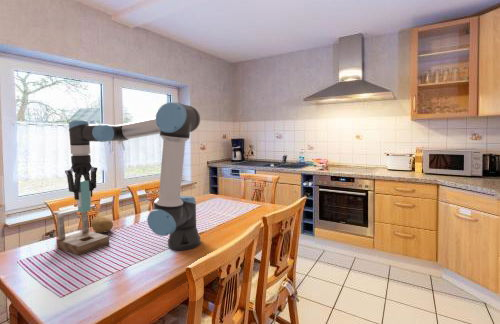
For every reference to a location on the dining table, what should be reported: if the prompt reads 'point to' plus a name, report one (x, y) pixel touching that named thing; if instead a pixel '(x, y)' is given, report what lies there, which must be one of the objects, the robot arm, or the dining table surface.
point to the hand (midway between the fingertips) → (84, 205)
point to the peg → (84, 196)
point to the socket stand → (78, 235)
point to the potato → (101, 224)
